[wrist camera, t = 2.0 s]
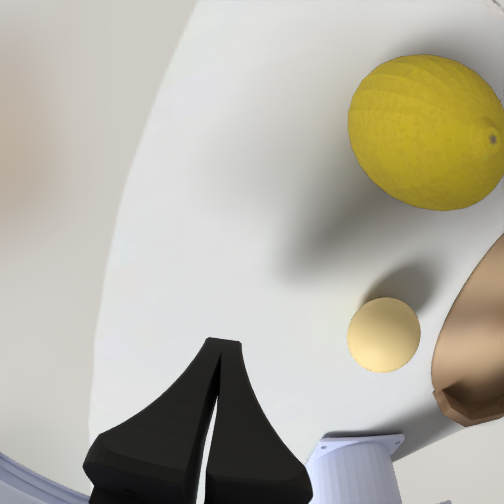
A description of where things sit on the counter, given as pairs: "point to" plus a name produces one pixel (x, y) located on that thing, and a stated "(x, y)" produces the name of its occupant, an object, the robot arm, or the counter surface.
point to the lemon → (428, 132)
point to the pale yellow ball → (383, 335)
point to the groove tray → (473, 347)
